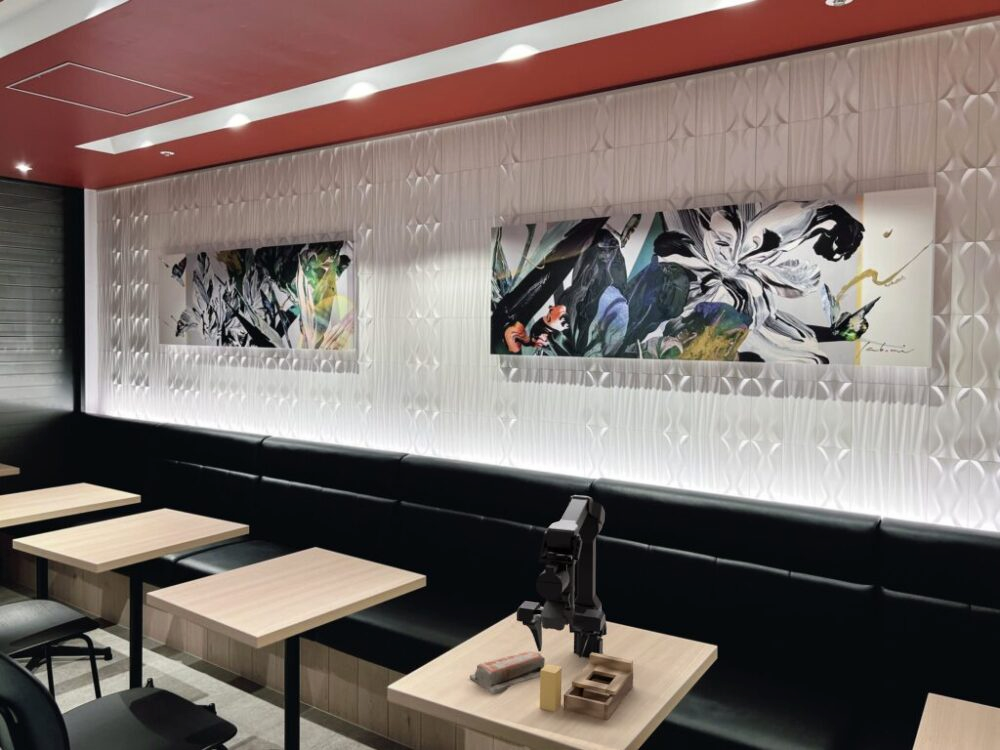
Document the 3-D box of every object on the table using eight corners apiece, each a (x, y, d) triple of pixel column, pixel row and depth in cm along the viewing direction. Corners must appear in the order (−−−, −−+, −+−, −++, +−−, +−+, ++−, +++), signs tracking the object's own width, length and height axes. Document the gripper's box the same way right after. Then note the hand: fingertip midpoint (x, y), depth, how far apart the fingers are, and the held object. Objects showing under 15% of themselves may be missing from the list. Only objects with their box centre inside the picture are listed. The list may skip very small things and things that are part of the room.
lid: (571, 685, 174) (572, 672, 174) (591, 663, 186) (592, 651, 186) (615, 695, 170) (615, 682, 170) (633, 672, 182) (633, 660, 181)
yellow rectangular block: (539, 711, 171) (540, 670, 170) (546, 704, 174) (546, 664, 174) (554, 715, 169) (555, 673, 169) (560, 708, 173) (561, 667, 172)
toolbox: (563, 712, 170) (563, 694, 170) (591, 680, 186) (592, 664, 186) (607, 723, 166) (607, 705, 166) (632, 689, 182) (633, 672, 182)
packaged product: (494, 675, 178) (469, 660, 186) (493, 696, 179) (469, 680, 187) (554, 657, 189) (529, 643, 197) (554, 676, 189) (528, 662, 197)
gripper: (509, 591, 167) (508, 662, 169) (595, 602, 162) (594, 675, 163) (524, 575, 178) (523, 642, 179) (606, 584, 172) (604, 654, 173)
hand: (560, 653), depth 173 cm, fingers open, 9 cm apart
